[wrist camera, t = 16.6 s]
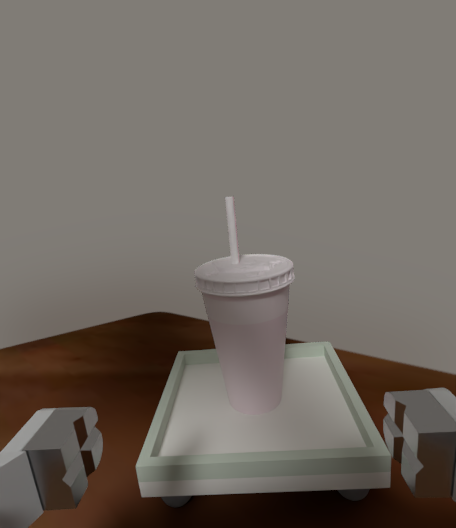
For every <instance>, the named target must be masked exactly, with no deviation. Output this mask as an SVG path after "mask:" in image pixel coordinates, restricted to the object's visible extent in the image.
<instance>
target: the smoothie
mask: <svg viewBox="0 0 456 528" xmlns="http://www.w3.org/2000/svg"><path fill="white" fill-rule="evenodd" d="M225 203H226V214H227V223H228V234H229V244H230V254H231V256H229V257H224V258H219V259H215V260H212V261H209V262H206V263H204V264H202V265H200V266H199V267H197V268H196V270H195V272H194V274H195V280H196V283H195V287H196V288H197V289H198V290H199V291H201V292H202V295H203V299H204V304H205V308H206V312H207V315H208V319H209V323H210V327H211V331H212V335H213V339H214V343H215V347H216V351H217V354H218V358H219V362H220V366H221V370H222V374H223V378H224V382H225V386H226V390H227V394H228V398H229V402H230V404H231V406H232V407H233V408H234V409H235V410H237V411H239V412H241V413H244V414H249V415H259V414H264V413H267V412H270V411H272V410H273V409H275V408H276V407H277V406H278V405H279V403H280V401H281V396H282V382H283V368H284V354H285V340H286V326H287V313H288V301H289V285H290V284H291V283H292V282H293V281H294V280H295V274H294V268H293V262H292V261H291V260H290V259H288V258H285V257H282V256H278V255H269V254H246V255H239V247H238V238H237V225H236V215H235V204H234V196H230V197H225Z"/></svg>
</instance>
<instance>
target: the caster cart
mask: <svg viewBox="0 0 456 528" xmlns="http://www.w3.org/2000/svg"><path fill="white" fill-rule="evenodd" d="M136 472H137V477H138V482H139V487H140V492H141V497H161V498H162V500H163V501H164V502H165V503H166V504H167V505H168V506H171V507H180V506H183V505H184V504H186V503H187V502H188V501H189V499H190V498H191V496H192V495H215V494H241V493H267V492H293V491H319V490H337V491H338V492H339V493H340V494H341V495H342V496H343V497H344V498H346V499H348V500H352V501H358V500H361V499H363V498H365V497H366V495H367V494H368V492H369V490H370V489H371V488H390V479H391V454H390V452H389V451H388V449H387V447H386V445H385V443H384V441H383V439H382V438H381V436H380V434H379V432H378V430H377V428H376V427H375V425H374V423H373V421H372V419H371V417H370V415H369V414H368V412H367V410H366V408H365V406H364V404H363V403H362V401H361V399H360V397H359V395H358V393H357V391H356V390H355V388H354V386H353V384H352V382H351V380H350V378H349V377H348V375H347V373H346V371H345V369H344V367H343V366H342V364H341V362H340V360H339V358H338V356H337V354H336V353H335V351H334V349H333V347H332V345H331V344H330V342H314V343H299V344H285V354H284V368H283V382H282V396H281V401H280V403H279V405H278V406H277V407H276V408H275V409H273V410H272V411H270V412H267V413H264V414H259V415H249V414H244V413H241V412H239V411H237V410H235V409H234V408H233V407H232V406H231V404H230V402H229V398H228V394H227V390H226V386H225V382H224V378H223V374H222V370H221V366H220V362H219V358H218V354H217V351H216V349H208V350H193V351H178V354H177V357H176V359H175V362H174V365H173V367H172V370H171V373H170V375H169V378H168V381H167V384H166V386H165V389H164V392H163V394H162V397H161V400H160V402H159V405H158V408H157V410H156V413H155V416H154V419H153V421H152V424H151V427H150V429H149V432H148V435H147V437H146V440H145V443H144V445H143V448H142V451H141V454H140V456H139V459H138V462H137V464H136Z"/></svg>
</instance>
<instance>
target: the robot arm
mask: <svg viewBox="0 0 456 528" xmlns="http://www.w3.org/2000/svg"><path fill="white" fill-rule="evenodd" d="M384 406H385V408H386V410H387V411H388V415H387V416H386V417H385V418H384V419H383V429H384V435H385V441H386V444H387V446H388V449H389V451H390V453H391V455H392V457H393V458H394V459H395V460H396V461H398V462H399V463H401V464H402V465H401V474H402V476H403V477H404V479H405V481H406V483H407V485H408V487H409V488H410V490H411V492H412V494H413V496H414V497H415V498H452V500H454V501H455V502H456V397H455V396H454V395H453V394H452V393H451V392H450V391H449V390H447V389H445V388H434V389H424V390H415V391H398V392H386V393H385V396H384ZM97 420H98V417H97V413H96V410H95V409H94V408H92V407H76V408H49V409H41V410H38V411H37V412H36V413H35V414H34V415H33V416H32V418H31V419H30V420H29V421H28V422H27V423H26V424H25V425H24V427H23V428H22V429H21V430H20V431H19V432H18V433H17V434H16V436H15V437H14V438H13V439H12V440H11V441H10V442H9V443H8V444H7V446H6V447H5V448H4V449H3V450H2V451H1V452H0V528H28V527H29V526H30V525H31V524H32V523H33V522H34V521H35V520H36V519H37V518H38V517H39V516H40V515H41V514H42V513H43V511H45V510H60V509H76V508H77V506H78V504H79V502H80V500H81V498H82V496H83V494H84V492H85V490H86V488H87V486H88V482H87V477H88V476H89V475H90V474H91V473H92V472H94V471H95V470H96V468H97V466H98V464H99V462H100V459H101V454H102V450H103V440H102V435H101V432H100V431H99V430H98V429H97V428H96V427H95V424H96V422H97Z"/></svg>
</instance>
